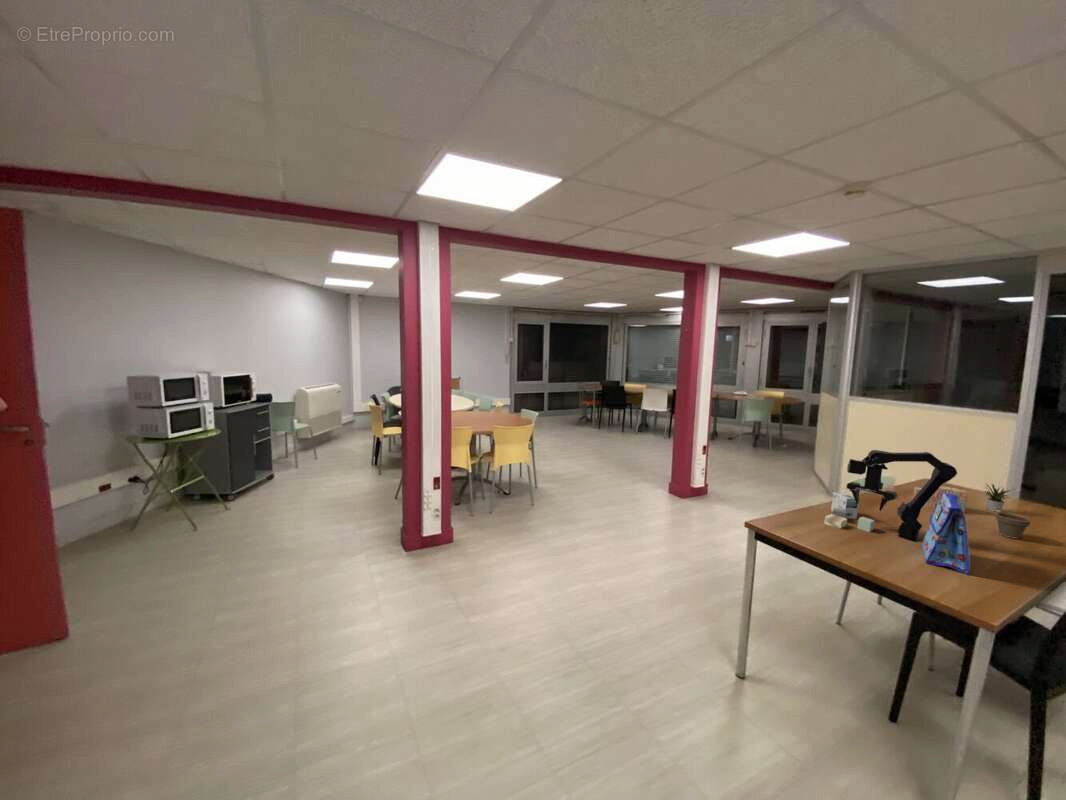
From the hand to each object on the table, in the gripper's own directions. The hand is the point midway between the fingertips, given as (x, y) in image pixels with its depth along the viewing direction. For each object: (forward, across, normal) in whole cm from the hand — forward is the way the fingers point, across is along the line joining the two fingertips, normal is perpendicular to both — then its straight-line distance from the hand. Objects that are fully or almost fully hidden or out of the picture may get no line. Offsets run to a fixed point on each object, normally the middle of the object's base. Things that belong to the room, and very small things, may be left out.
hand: (868, 507), depth 207 cm
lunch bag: (+12, -30, +8) cm, 33 cm away
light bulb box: (+11, +13, -12) cm, 21 cm away
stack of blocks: (+12, -12, -79) cm, 80 cm away
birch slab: (+11, +10, +8) cm, 17 cm away
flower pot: (+12, -42, -57) cm, 72 cm away
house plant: (+12, -30, -104) cm, 109 cm away
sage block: (+11, 0, 0) cm, 11 cm away
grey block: (+11, +12, -2) cm, 17 cm away
